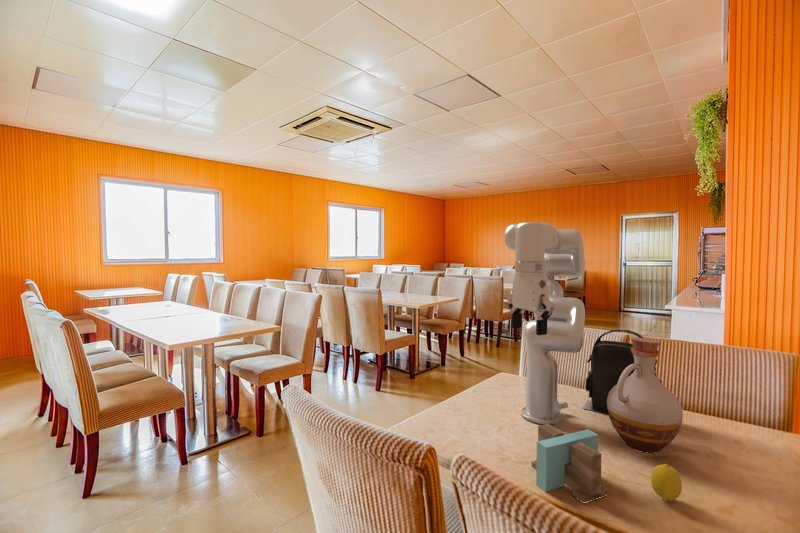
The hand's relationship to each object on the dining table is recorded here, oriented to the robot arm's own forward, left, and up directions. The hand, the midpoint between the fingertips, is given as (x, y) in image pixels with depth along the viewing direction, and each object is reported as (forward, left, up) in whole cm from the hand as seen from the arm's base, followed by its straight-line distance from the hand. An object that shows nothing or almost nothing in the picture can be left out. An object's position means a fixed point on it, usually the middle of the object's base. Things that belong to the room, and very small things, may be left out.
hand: (528, 331), depth 107 cm
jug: (-29, +12, -32) cm, 45 cm away
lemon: (-12, +30, -32) cm, 46 cm away
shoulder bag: (-45, -6, -33) cm, 56 cm away
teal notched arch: (+2, +16, -32) cm, 36 cm away
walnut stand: (+2, +16, -32) cm, 36 cm away
